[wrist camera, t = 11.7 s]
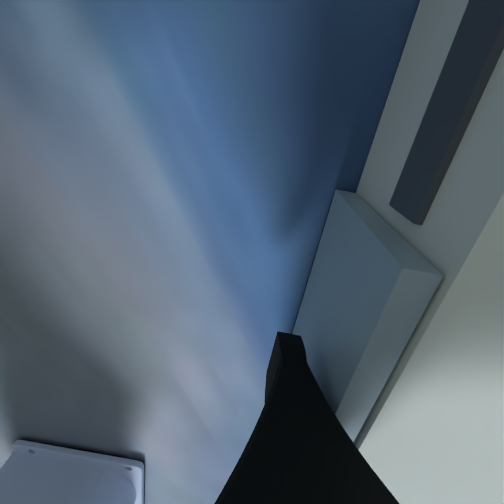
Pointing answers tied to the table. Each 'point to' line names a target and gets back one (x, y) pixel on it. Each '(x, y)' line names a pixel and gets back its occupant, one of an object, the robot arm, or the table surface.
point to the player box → (445, 257)
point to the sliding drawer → (360, 306)
